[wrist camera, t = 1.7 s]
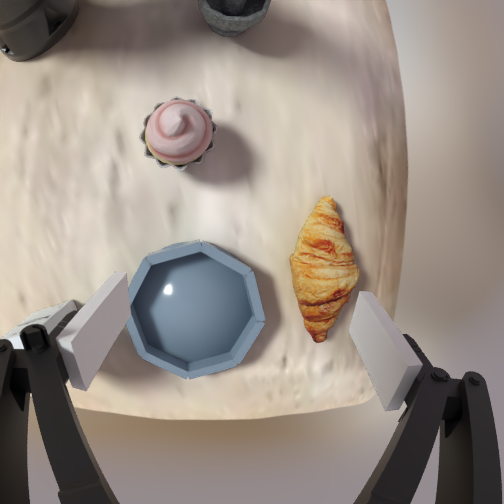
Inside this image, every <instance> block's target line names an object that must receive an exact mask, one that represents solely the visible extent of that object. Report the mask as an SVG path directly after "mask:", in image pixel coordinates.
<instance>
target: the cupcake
mask: <svg viewBox="0 0 504 504" xmlns="http://www.w3.org/2000/svg"><path fill="white" fill-rule="evenodd" d="M211 119H212V110H210V109H207V108H202V107H201V106H200V103H199V102H198V101H197V100H196V99H190V100H183V99H182V98H180V97H177V96H176V97H174V98H172V99H171V100H170V101H167V102H165V103H164V102H161V103H158V104H157V105H156V106H155V107H154V110H153V113H151V114H149V115H147V116H146V117H145V118H144V121H143V124H144V130H143V131H142V132H141V133H140V136H139V138H140V140H141V141H142V142H143V143H144V144H145V152H144V154H145V156H146V157H148V158H153V159H156V162H157V164H158V165H159V166H160V167H161V168H166V167H169V166H173V167H174V168H176V169H177V170H179V171H183V170H184V169H185V168H186V167H187V166H188V165H189V164H202V162H203V159H204V155H205V153H206V152H209V151H211V150H213V149H214V148H215V143H214V140H213V136H214V135H215V134H216V133H217V131H218V129H219V128H218V126H217V125H216V124H215V123H213V122H212V121H211Z"/></svg>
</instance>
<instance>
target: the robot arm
mask: <svg viewBox="0 0 504 504" xmlns="http://www.w3.org/2000/svg"><path fill="white" fill-rule="evenodd" d="M77 13H78V1H77V0H0V50H1V51H2V53H3V54H4V55H5V56H7V57H8V58H9V59H11V60H13V61H24V60H28V59H31V58H33V57H36V56H38V55H40V54H41V53H43V52H45V51H46V50H48V49H49V48H50V47H52V46H53V45H54V44H55V43H56V42H58V41H59V40H60V39H61V38H62V37H63V36H64V35H65V33H66V32H67V31H68V30H69V28H70V27H71V26H72V24H73V22H74V20H75V18H76V16H77ZM130 316H131V310H130V301H129V291H128V281H127V273H122V272H114V273H113V274H112V275H111V276H110V277H109V278H108V279H107V281H106V282H105V283H104V284H103V285H102V286H101V287H100V288H99V289H98V290H97V291H96V293H95V294H94V295H93V296H92V297H91V298H90V299H89V300H88V301H87V303H86V304H85V305H84V306H83V307H82V308H81V309H80V310H79V311H77V310H73V311H72V312H70V313H68V314H66V316H65V317H64V318H63V319H62V320H61V321H60V322H59V323H58V324H57V326H56V327H55V328H54V329H53V330H52V331H51V332H50V334H49V335H48V333H47V329H46V328H45V326H43V325H42V324H31V325H28V326H26V327H25V328H23V329H22V330H21V332H20V335H19V336H20V339H21V342H22V344H23V347H24V349H14V347H13V345H12V343H11V341H9V340H8V339H0V504H30V499H29V487H28V470H27V433H28V412H29V400H30V393H32V398H33V403H34V407H35V412H36V416H37V420H38V424H39V428H40V432H41V435H42V439H43V442H44V446H45V449H46V452H47V455H48V458H49V461H50V464H51V467H52V470H53V473H54V476H55V478H56V481H57V483H58V486H59V489H60V491H59V492H58V497H59V499H60V502H61V504H120V503H119V502H118V500H117V498H116V497H115V495H114V493H113V491H112V490H111V488H110V486H109V484H108V482H107V481H106V479H105V477H104V475H103V473H102V471H101V469H100V467H99V465H98V463H97V461H96V459H95V457H94V455H93V453H92V450H91V448H90V446H89V444H88V442H87V439H86V437H85V435H84V432H83V430H82V428H81V425H80V423H79V420H78V417H77V415H76V412H75V410H74V407H73V404H72V401H71V398H70V396H69V393H68V390H67V387H66V384H65V383H66V382H67V380H68V379H69V380H70V382H71V385H72V387H74V388H77V389H80V390H84V391H87V389H88V388H89V386H90V384H91V382H92V380H93V379H94V377H95V375H96V373H97V371H98V370H99V368H100V366H101V364H102V363H103V361H104V359H105V357H106V356H107V354H108V352H109V351H110V349H111V347H112V346H113V344H114V342H115V340H116V339H117V337H118V335H119V334H120V332H121V331H122V329H123V327H124V326H125V324H126V322H127V321H128V319H129V317H130ZM349 333H350V335H351V337H352V339H353V342H354V344H355V346H356V348H357V350H358V352H359V354H360V356H361V359H362V361H363V363H364V365H365V367H366V370H367V372H368V374H369V376H370V378H371V381H372V383H373V385H374V387H375V390H376V392H377V394H378V396H379V399H380V401H381V403H382V406H383V408H384V410H385V411H391V410H398V409H399V408H400V407H401V405H402V403H403V401H405V403H406V405H407V408H406V409H405V411H404V413H403V414H402V416H401V417H400V419H399V421H398V422H399V424H398V426H397V428H396V430H395V432H394V434H393V437H392V438H391V440H390V442H389V444H388V446H387V448H386V450H385V452H384V454H383V456H382V457H381V459H380V461H379V463H378V465H377V466H376V468H375V470H374V471H373V473H372V475H371V477H370V478H369V480H368V482H367V483H366V485H365V486H364V488H363V490H362V491H361V493H360V494H359V496H358V497H357V499H356V500H355V502H354V503H353V504H410V503H411V501H412V498H413V496H414V494H415V492H416V490H417V487H418V485H419V483H420V480H421V477H422V475H423V473H424V470H425V468H426V465H427V462H428V459H429V457H430V454H431V451H432V448H433V445H434V442H435V439H436V436H437V433H438V429H439V426H440V452H439V471H438V483H437V493H436V502H435V504H502V483H501V469H500V458H499V449H498V442H497V435H496V429H495V423H494V417H493V412H492V407H491V402H490V397H489V393H488V389H487V385H486V381H485V379H484V378H483V377H482V376H481V375H480V374H479V373H476V372H471V371H469V372H466V373H465V375H464V376H463V378H462V380H461V379H452V378H450V376H449V374H448V373H447V372H446V371H445V370H443V369H441V368H437V367H433V366H432V365H431V363H430V362H429V360H428V359H427V357H426V356H425V355H424V353H423V352H422V350H421V349H420V348H419V347H418V345H417V343H416V342H415V340H414V339H412V338H411V337H410V336H409V335H407V334H402V333H401V332H400V330H399V329H398V328H397V326H396V325H395V323H394V322H393V321H392V319H391V318H390V316H389V315H388V314H387V312H386V311H385V310H384V308H383V307H382V305H381V304H380V303H379V301H378V300H377V299H376V297H375V296H374V295H373V293H372V292H369V291H359V295H358V299H357V303H356V306H355V310H354V314H353V317H352V321H351V324H350V328H349Z"/></svg>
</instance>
